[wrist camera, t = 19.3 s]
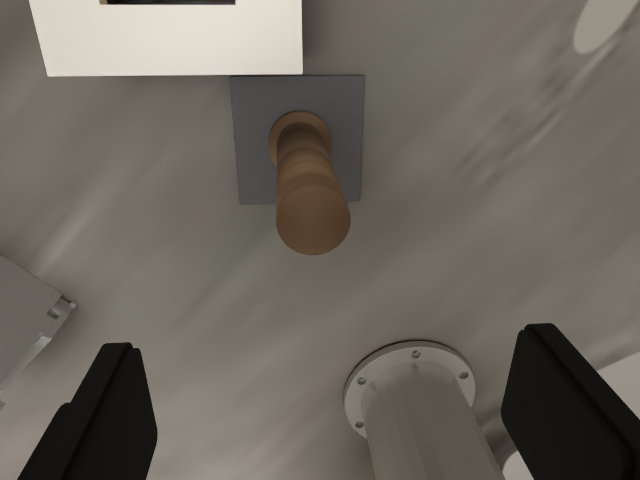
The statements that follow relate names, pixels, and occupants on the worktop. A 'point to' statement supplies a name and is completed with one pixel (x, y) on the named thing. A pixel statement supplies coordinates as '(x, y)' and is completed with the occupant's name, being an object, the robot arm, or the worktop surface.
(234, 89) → the rubber mat
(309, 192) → the wooden pepper mill
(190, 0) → the button
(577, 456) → the robot arm
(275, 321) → the worktop surface
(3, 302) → the circuit breaker
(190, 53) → the square socket block
